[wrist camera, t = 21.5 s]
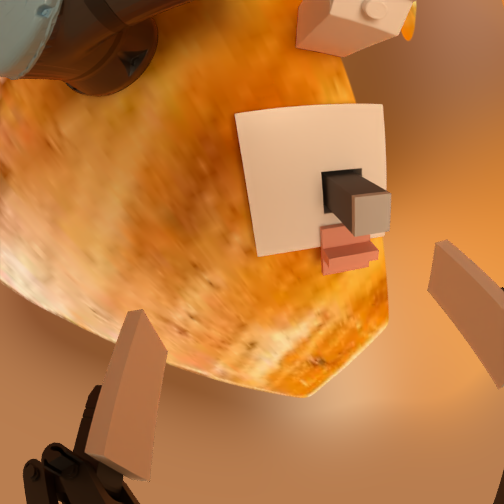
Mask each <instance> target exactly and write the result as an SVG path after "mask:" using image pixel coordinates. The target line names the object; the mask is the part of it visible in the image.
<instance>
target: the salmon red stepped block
mask: <svg viewBox="0 0 504 504" xmlns="http://www.w3.org/2000/svg"><path fill="white" fill-rule="evenodd" d="M320 236H321V265H322V274H323V275H328V274H334V273H339V272H344V271H349V270H355V269H360V268H365V267H368V266H369V261H372V260H378V253H379V250H378V249H377V248H376V247H375V246H374V245H373V243H372V242H371V241H370V234H369V235H363V236H357V237H354V236H353V234H352V233H351V232H350V231H349V230H348V229H347V228H346V227H345V226H344V224H343V223H342V224H335V225H328V226H322V227H320Z"/></svg>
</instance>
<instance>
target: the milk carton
mask: <svg viewBox="0 0 504 504" xmlns="http://www.w3.org/2000/svg"><path fill="white" fill-rule="evenodd" d="M414 1H416V0H303V2H302V3H301V4H300V6H299V8H298V23H297V37H296V48H300V49H305V50H311V51H316V52H321V53H326V54H330V55H335V56H339V57H346V56H348V55H350V54H352V53H355V52H357V51H359V50H362V49H364V48H367V47H369V46H372V45H374V44H376V43H379V42H382V41H384V40H387V39H390V38H392V37H395V36H397V35H399V33H400V30H401V28H402V26H403V24H404V21H405V19H406V17H407V15H408V12H409V10H410V8H411V6H412V3H413V2H414Z"/></svg>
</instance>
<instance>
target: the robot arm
mask: <svg viewBox="0 0 504 504" xmlns="http://www.w3.org/2000/svg"><path fill="white" fill-rule="evenodd" d="M191 1H194V0H0V77H7V78H9V79H11V80H16V79H53V80H62V81H63V82H65V83H66V84H67V85H68V86H69V87H70V88H71V89H72V90H74V91H76V92H78V93H80V94H84V95H90V96H104V95H109V94H113V93H115V92H118V91H120V90H122V89H124V88H126V87H127V86H129V85H130V84H131V83H133V82H134V81H135V80H136V79H137V78H138V77H139V76H140V75H141V74H142V73H143V72H144V71H145V69H146V68H147V66H148V65H149V63H150V62H151V60H152V58H153V56H154V53H155V50H156V47H157V41H158V31H157V27H156V24H155V21H154V20H153V18H152V16H155V15H157V14H159V13H162V12H164V11H167V10H169V9H172V8H174V7H177V6H179V5H182V4H185V3H188V2H191ZM428 292H429V293H430V294H431V295H432V296H433V298H434V299H435V300H436V301H437V303H438V304H439V305H440V306H441V308H442V309H443V310H444V311H445V313H446V314H447V315H448V316H449V318H450V319H451V320H452V322H453V323H454V324H455V326H456V327H457V328H458V330H459V331H460V332H461V334H462V335H463V337H464V338H465V339H466V341H467V342H468V343H469V345H470V346H471V348H472V349H473V350H474V352H475V353H476V355H477V356H478V358H479V359H480V361H481V362H482V364H483V365H484V367H485V368H486V370H487V371H488V373H489V374H490V376H491V378H492V379H493V381H494V383H495V384H496V386H497V387H498V389H500V388H501V387H503V386H504V288H503V287H502V288H500V287H499V286H498V285H497V284H496V283H495V282H494V281H493V280H492V279H491V278H490V277H489V276H488V275H487V274H486V273H485V272H483V271H482V270H481V269H480V268H479V267H478V266H477V265H476V264H475V263H474V262H473V261H472V260H470V259H469V258H468V257H467V256H466V255H465V254H464V253H462V252H461V251H460V250H459V249H458V248H457V247H455V246H454V245H453V244H452V243H451V242H449V241H448V240H444V241H440V242H437V243H435V250H434V257H433V263H432V269H431V275H430V280H429V285H428ZM167 352H168V351H167V350H166V348H165V346H164V345H163V343H162V341H161V340H160V338H159V336H158V335H157V333H156V331H155V330H154V328H153V326H152V325H151V323H150V321H149V319H148V318H147V316H146V314H145V312H144V310H143V309H141V310H135V311H129V312H128V313H127V316H126V318H125V321H124V323H123V326H122V329H121V331H120V334H119V337H118V340H117V342H116V345H115V348H114V351H113V354H112V357H111V360H110V363H109V366H108V369H107V372H106V375H105V378H104V381H103V384H102V385H96V386H95V387H94V389H93V390H92V392H91V393H90V395H89V396H88V400H87V403H86V406H85V407H86V409H85V410H84V413H83V418H82V420H81V424H80V427H79V431H78V435H77V438H76V442H75V446H74V450H73V452H72V451H71V450H69V449H68V448H66V447H65V446H63V445H62V444H60V443H52V444H49V445H48V446H47V447H46V448H45V450H44V452H43V454H42V459H41V462H40V461H38V460H37V459H31V460H29V461H28V462H27V463H26V464H25V466H24V469H23V480H24V488H25V495H26V501H27V504H59V503H58V501H61V502H62V504H140V503H139V502H138V500H137V499H136V498H135V496H134V495H133V493H132V492H131V490H130V489H129V487H128V486H127V484H126V483H125V482H124V481H123V475H124V476H126V477H128V478H130V479H133V480H140V481H149V482H150V474H151V464H152V453H153V445H154V437H155V428H156V421H157V413H158V406H159V399H160V393H161V387H162V381H163V374H164V369H165V363H166V357H167ZM493 504H504V471H503V475H502V478H501V482H500V485H499V488H498V491H497V494H496V498H495V500H494V503H493Z"/></svg>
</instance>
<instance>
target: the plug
mask: <svg viewBox="0 0 504 504" xmlns="http://www.w3.org/2000/svg"><path fill="white" fill-rule="evenodd" d="M321 176H322V190H323V203H324V204H325V205H326V206H327V207H328V208H329V209H330V210H331V211H332V213H333V214H334V215H335V216H336V217H337V218H338V219H339V220H340V221H341V222H342V223H343V224H344V226H345V227H346V228H347V229H348V230H349V231H350V232H351V233H352V234H353V236H354V237H357V236H363V235H369V234H375V233H381V232H387V231H389V230H390V212H391V193H390V192H388V191H386V190H385V189H383V188H381V187H379V186H378V185H376V184H374V183H372V182H371V181H369V180H367V179H365V178H364V177H362V176H360V175H358V174H356V173H354V172H353V171H351V170H349V169H346V170H336V171H326V172H321Z"/></svg>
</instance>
